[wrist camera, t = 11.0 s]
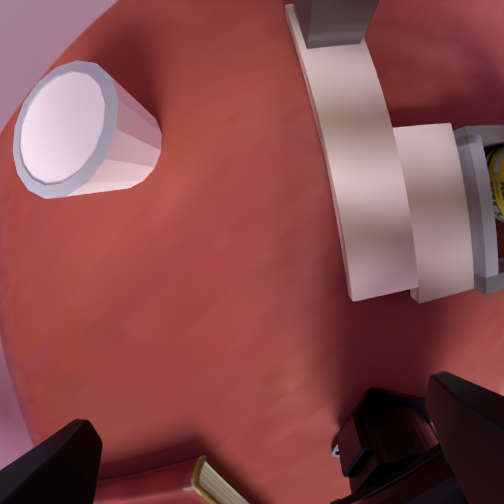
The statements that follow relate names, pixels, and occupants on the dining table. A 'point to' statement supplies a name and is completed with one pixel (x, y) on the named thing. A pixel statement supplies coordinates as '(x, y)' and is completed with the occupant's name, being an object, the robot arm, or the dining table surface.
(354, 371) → the dining table surface
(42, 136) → the shot glass
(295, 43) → the tray with upright post
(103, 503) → the hardcover book
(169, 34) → the dining table surface
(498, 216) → the supplement bottle
